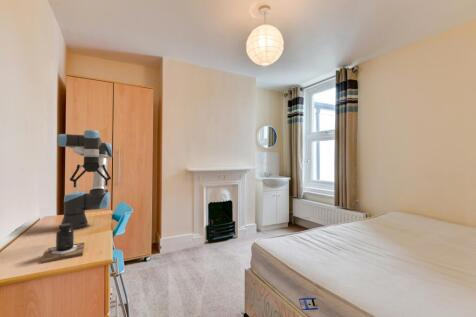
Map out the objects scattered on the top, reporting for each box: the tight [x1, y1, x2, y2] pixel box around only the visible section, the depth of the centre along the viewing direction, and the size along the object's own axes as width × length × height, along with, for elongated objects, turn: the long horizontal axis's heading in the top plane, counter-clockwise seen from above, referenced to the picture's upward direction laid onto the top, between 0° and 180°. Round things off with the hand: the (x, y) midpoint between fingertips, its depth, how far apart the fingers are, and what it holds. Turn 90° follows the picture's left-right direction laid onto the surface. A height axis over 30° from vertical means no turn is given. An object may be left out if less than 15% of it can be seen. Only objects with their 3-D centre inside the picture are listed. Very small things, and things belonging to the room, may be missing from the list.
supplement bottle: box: [55, 223, 75, 251], centre depth 109 cm, size 7×7×12 cm
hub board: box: [40, 242, 85, 264], centre depth 109 cm, size 16×15×2 cm
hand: (91, 192), depth 131 cm, fingers open, 13 cm apart
